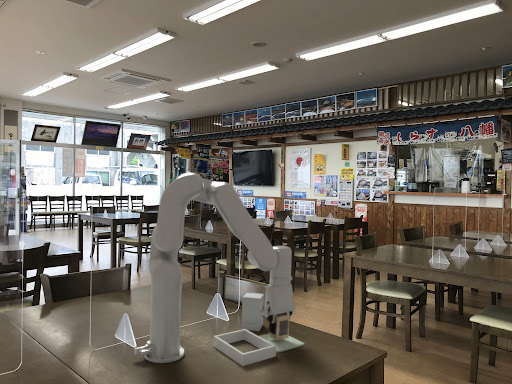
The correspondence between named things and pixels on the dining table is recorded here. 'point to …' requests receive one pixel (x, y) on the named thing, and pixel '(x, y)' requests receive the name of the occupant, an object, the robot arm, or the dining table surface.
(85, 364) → the dining table surface
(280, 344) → the mat
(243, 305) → the supplement box
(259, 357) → the bin
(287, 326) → the birch box
